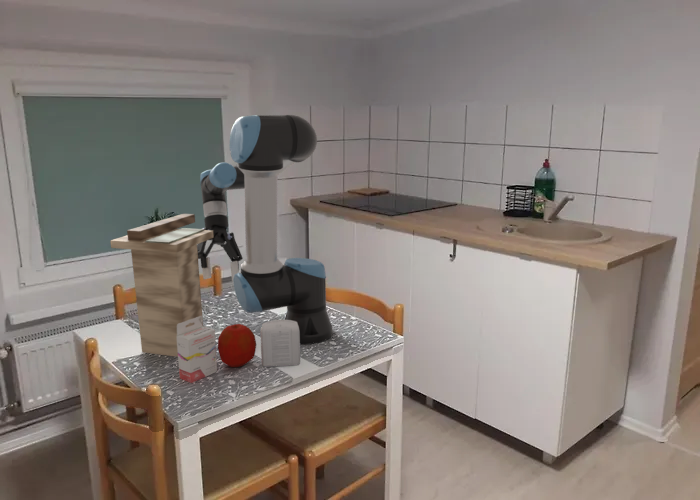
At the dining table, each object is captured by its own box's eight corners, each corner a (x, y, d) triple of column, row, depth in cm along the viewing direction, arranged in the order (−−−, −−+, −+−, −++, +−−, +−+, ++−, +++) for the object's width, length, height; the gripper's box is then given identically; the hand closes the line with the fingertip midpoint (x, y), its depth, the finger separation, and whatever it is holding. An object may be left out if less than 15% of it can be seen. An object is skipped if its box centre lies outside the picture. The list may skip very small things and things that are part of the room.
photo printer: (300, 359, 153) (298, 316, 150) (301, 365, 149) (299, 321, 146) (261, 361, 151) (259, 318, 148) (261, 368, 147) (259, 324, 144)
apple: (244, 374, 144) (241, 332, 141) (210, 369, 147) (207, 327, 145) (263, 359, 153) (261, 319, 150) (232, 353, 157) (229, 314, 154)
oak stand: (162, 332, 172) (152, 226, 164) (220, 339, 167) (212, 229, 159) (123, 356, 156) (110, 239, 148) (186, 365, 150) (176, 243, 142)
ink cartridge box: (192, 384, 139) (187, 328, 136) (179, 379, 142) (174, 324, 139) (218, 371, 146) (214, 318, 143) (205, 366, 149) (201, 314, 145)
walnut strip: (183, 221, 173) (183, 213, 172) (195, 222, 171) (194, 214, 171) (128, 239, 148) (127, 230, 148) (140, 240, 147) (139, 231, 147)
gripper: (231, 224, 199) (238, 283, 195) (179, 213, 177) (185, 279, 173) (248, 219, 195) (255, 279, 191) (197, 207, 173) (203, 274, 169)
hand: (222, 279), depth 182 cm, fingers open, 13 cm apart
